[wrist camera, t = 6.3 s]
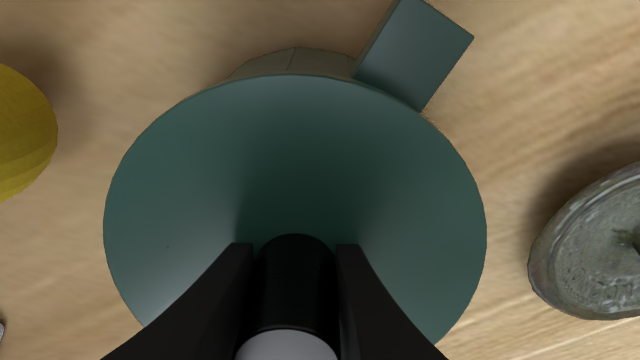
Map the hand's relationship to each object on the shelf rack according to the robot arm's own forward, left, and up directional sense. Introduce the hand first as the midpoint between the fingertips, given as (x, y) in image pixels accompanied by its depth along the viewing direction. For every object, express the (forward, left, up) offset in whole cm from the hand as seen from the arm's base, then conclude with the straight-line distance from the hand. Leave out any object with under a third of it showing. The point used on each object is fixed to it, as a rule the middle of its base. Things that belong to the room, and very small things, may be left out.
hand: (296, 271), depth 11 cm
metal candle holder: (+16, +5, -8) cm, 19 cm away
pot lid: (0, 0, -1) cm, 1 cm away
